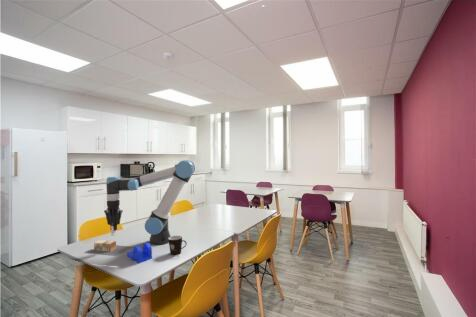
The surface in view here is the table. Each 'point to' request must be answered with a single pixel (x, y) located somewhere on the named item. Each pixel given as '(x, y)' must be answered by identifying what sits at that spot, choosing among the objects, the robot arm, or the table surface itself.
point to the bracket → (141, 253)
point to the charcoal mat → (113, 253)
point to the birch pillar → (105, 245)
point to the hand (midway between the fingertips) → (113, 235)
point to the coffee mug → (175, 244)
